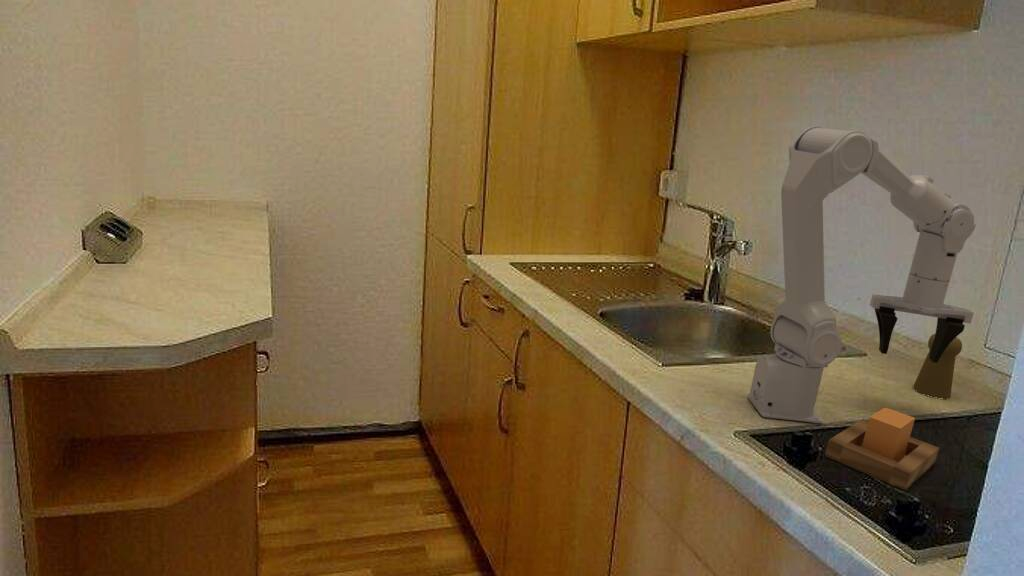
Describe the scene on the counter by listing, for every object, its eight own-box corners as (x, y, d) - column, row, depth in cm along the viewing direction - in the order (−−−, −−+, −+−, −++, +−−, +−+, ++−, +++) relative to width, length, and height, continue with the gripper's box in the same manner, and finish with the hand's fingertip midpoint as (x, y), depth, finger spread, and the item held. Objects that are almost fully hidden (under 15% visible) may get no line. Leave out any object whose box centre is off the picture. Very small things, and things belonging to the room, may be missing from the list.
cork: (916, 382, 131) (931, 327, 128) (952, 393, 128) (969, 337, 125) (909, 390, 127) (925, 333, 124) (947, 402, 123) (964, 343, 120)
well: (905, 490, 90) (910, 473, 89) (824, 456, 97) (828, 439, 97) (934, 463, 99) (939, 447, 98) (858, 433, 106) (862, 418, 105)
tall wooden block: (889, 468, 95) (900, 428, 93) (859, 456, 98) (869, 417, 96) (904, 456, 99) (915, 418, 97) (874, 444, 102) (885, 407, 100)
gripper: (886, 274, 109) (865, 355, 113) (989, 290, 106) (965, 373, 110) (875, 265, 116) (856, 342, 119) (972, 279, 113) (949, 358, 116)
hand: (907, 356), depth 115 cm, fingers open, 7 cm apart
